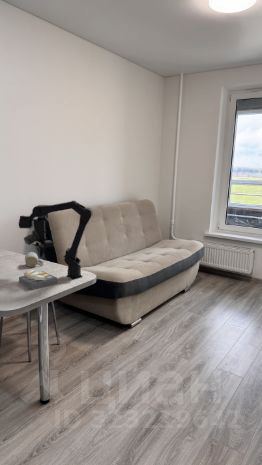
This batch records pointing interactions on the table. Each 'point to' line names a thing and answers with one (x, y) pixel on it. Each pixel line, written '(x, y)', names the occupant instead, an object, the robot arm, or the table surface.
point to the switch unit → (38, 281)
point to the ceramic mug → (32, 259)
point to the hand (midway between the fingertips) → (40, 256)
